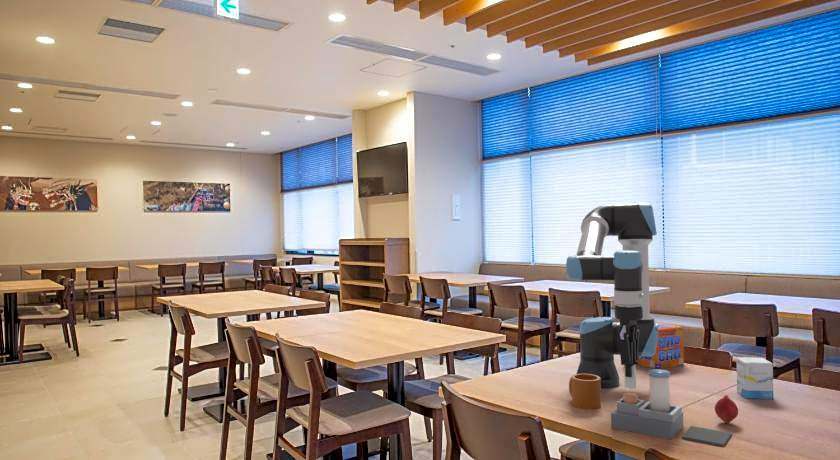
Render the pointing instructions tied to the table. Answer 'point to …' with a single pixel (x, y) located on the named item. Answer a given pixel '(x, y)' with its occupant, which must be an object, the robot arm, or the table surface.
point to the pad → (707, 436)
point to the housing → (647, 419)
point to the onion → (726, 409)
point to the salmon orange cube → (630, 398)
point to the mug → (585, 391)
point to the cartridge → (659, 390)
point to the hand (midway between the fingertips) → (630, 387)
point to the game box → (666, 348)
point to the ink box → (755, 378)
